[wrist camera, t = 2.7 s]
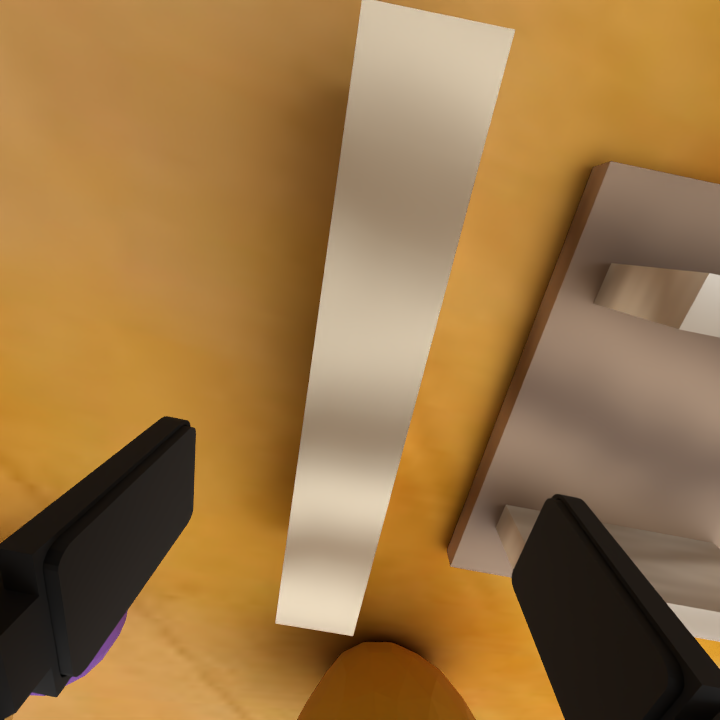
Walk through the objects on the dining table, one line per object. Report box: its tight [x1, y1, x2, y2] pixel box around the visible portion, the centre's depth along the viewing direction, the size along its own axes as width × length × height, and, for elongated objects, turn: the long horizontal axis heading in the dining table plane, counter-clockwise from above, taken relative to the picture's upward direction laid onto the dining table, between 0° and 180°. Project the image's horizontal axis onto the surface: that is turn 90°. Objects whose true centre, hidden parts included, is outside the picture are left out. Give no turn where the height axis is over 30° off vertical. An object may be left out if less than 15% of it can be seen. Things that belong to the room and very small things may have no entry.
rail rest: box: [447, 161, 720, 642], centre depth 14 cm, size 20×14×5 cm
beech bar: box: [275, 0, 515, 636], centre depth 14 cm, size 22×4×5 cm, turn 170°
